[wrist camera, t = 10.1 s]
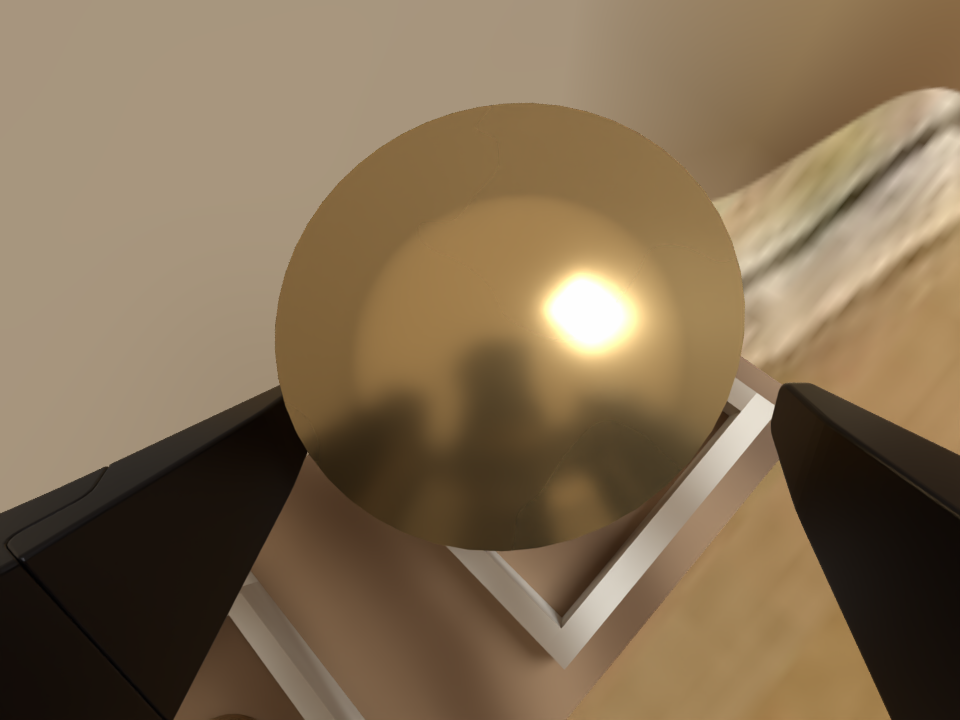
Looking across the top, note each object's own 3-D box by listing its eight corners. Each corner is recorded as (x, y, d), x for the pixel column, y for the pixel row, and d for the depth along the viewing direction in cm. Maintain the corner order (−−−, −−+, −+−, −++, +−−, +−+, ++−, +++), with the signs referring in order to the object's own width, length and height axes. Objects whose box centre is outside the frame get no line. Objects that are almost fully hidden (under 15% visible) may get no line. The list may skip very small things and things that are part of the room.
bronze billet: (624, 496, 16) (797, 543, 4) (483, 502, 17) (259, 556, 5) (607, 358, 18) (697, 67, 5) (477, 369, 18) (288, 142, 6)
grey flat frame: (236, 1102, 15) (168, 1227, 13) (56, 758, 19) (-23, 801, 17) (798, 415, 17) (838, 404, 15) (531, 228, 21) (525, 193, 19)
